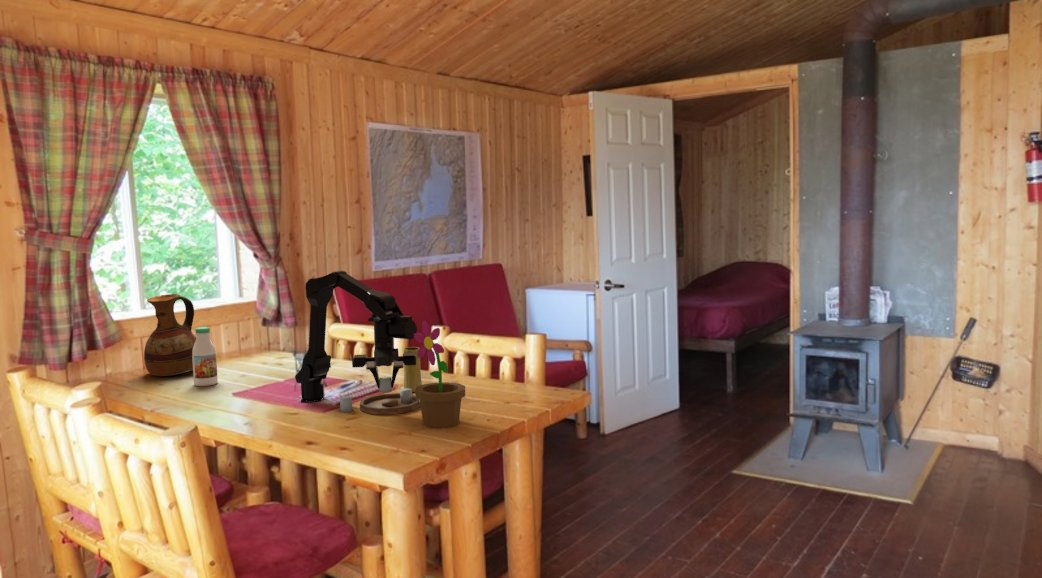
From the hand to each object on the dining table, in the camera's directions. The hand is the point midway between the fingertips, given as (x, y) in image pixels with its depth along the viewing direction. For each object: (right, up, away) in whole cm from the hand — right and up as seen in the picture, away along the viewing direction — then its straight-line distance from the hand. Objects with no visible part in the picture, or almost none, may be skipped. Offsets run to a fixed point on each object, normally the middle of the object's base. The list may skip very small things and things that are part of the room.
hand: (385, 388), depth 231 cm
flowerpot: (+18, -9, -13) cm, 24 cm away
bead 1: (-12, -7, +2) cm, 14 cm away
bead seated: (+5, -6, +8) cm, 11 cm away
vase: (+5, -4, +26) cm, 26 cm away
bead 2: (0, -1, 0) cm, 1 cm away
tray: (0, -6, +6) cm, 9 cm away
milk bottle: (-70, -4, +39) cm, 80 cm away
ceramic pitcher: (-88, -2, +56) cm, 105 cm away
